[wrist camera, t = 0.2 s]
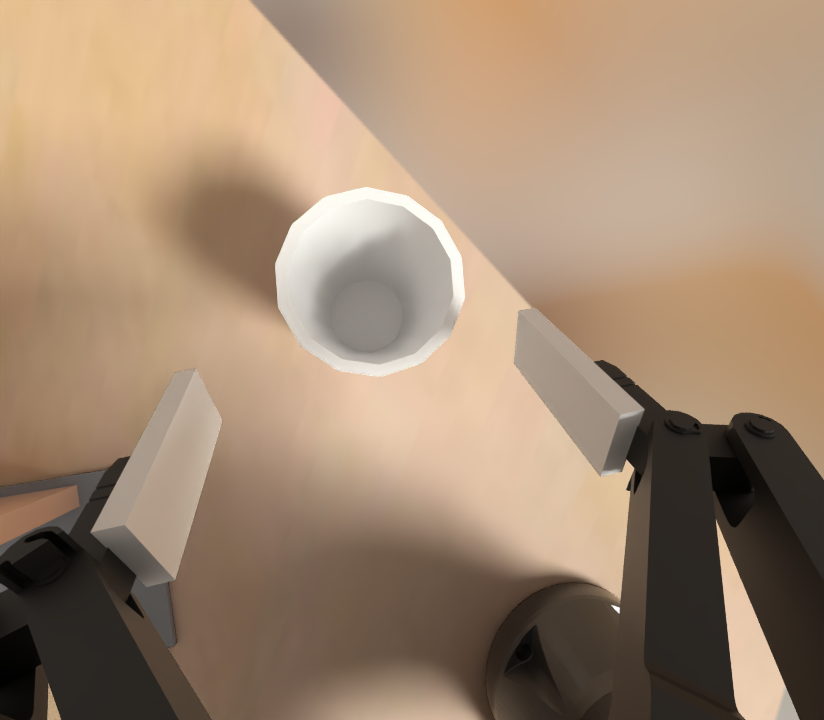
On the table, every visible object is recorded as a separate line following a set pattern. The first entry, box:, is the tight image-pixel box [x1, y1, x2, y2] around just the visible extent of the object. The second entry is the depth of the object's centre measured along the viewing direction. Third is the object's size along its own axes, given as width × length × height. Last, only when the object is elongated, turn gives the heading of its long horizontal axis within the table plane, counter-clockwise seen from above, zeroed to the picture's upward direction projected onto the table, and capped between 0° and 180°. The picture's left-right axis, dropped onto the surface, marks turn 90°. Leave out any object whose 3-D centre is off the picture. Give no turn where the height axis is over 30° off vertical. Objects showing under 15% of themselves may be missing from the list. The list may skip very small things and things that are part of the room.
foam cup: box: [275, 187, 465, 377], centre depth 25 cm, size 10×9×13 cm
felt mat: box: [0, 469, 177, 648], centre depth 27 cm, size 14×20×1 cm
